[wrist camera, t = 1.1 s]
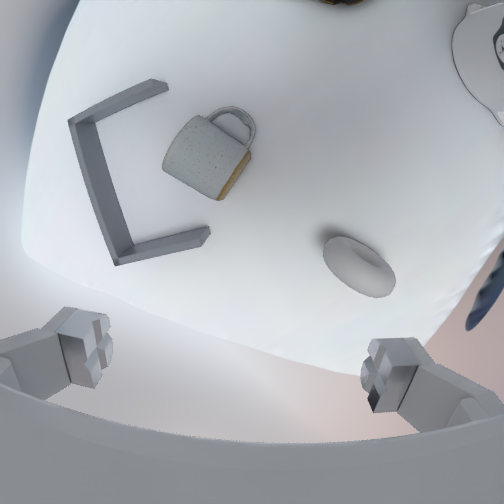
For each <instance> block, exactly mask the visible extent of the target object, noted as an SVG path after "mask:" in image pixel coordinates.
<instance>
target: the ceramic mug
mask: <svg viewBox="0 0 504 504" xmlns="http://www.w3.org/2000/svg"><path fill="white" fill-rule="evenodd" d="M224 113H232V114H235V115H236V116H237V117H238V118H240V119H241V120H242V121H243V122H244V123H245V125H247V126H249V128H250V137H249V140H248V142H247V143H246V145H242V144H241V143H240V142H238V141H237V140H235V139H234V138H232V137H231V136H229V135H228V134H226V133H225V132H223V131H222V130H221V129H219V128H218V127H216V126H215V125H213V124H212V123H210V122H211V121H212V120H213V119H214V118H215V117H217V116H219V115H221V114H224ZM254 134H255V126H254V123H253V120H252V118H251V117H250V116H249V115H248V114H247V113H246V112H244V111H243V110H241V109H239V108H237V107H224V108H220V109H218V110H217V111H215V112H213V113H212V114H211V115H209V116H208V117H207V118H206V119H205V118H203V117H201V116H200V115H198V116H195V117H193V118H192V119H191V120H190V121H189V122H188V123H187V124H186V125H185V126H184V127H183V128H182V130H181V131H180V132H179V133H178V135H177V136H176V137H175V139H174V141H173V142H172V144H171V146H170V147H169V149H168V151H167V153H166V155H165V157H164V160H163V163H162V169H163V171H164V172H166V173H168V174H170V175H171V176H173V177H175V178H177V179H178V180H180V181H182V182H183V183H185V184H187V185H188V186H190V187H192V188H194V189H195V190H197V191H198V192H200V193H202V194H203V195H205V196H207V197H209V198H211V199H214V200H217V201H220V200H223V199H224V198H225V196H226V195H227V193H228V192H229V190H230V189H231V187H232V186H233V184H234V183H235V181H236V180H237V178H238V177H239V175H240V174H241V172H242V171H243V169H244V168H245V166H246V165H247V163H248V162H249V160H250V159H251V154H250V152H249V151H248V147H249V146H250V144H251V142H252V140H253V138H254Z"/></svg>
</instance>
